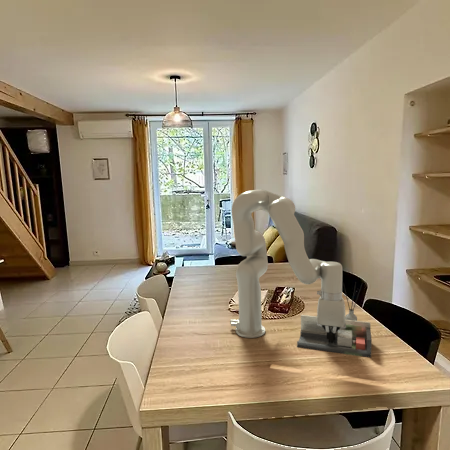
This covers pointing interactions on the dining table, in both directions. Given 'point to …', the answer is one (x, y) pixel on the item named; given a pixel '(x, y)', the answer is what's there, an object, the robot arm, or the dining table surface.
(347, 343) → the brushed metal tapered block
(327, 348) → the grey compartment tray
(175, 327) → the dining table surface
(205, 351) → the dining table surface
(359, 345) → the salmon pink rectangular block
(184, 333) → the dining table surface
